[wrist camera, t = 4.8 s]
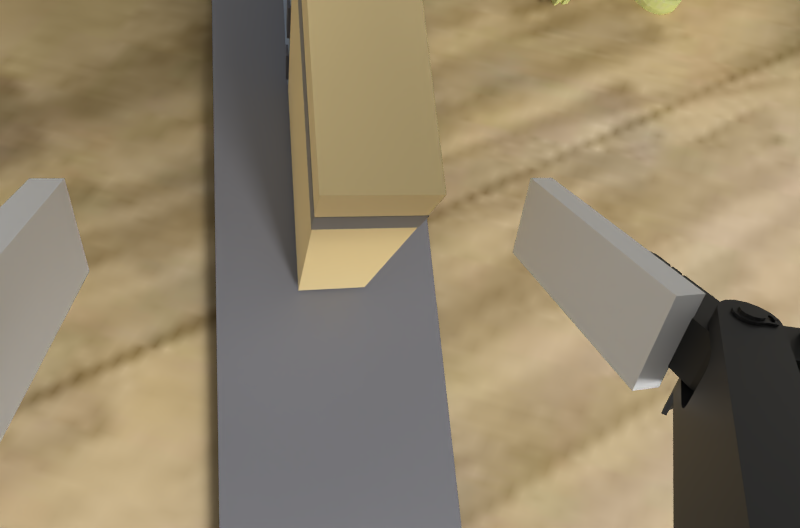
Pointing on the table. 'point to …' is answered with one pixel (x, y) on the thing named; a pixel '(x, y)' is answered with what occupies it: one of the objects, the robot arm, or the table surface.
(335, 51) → the tan cardboard parcel
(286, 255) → the base
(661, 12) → the key
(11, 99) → the table surface
